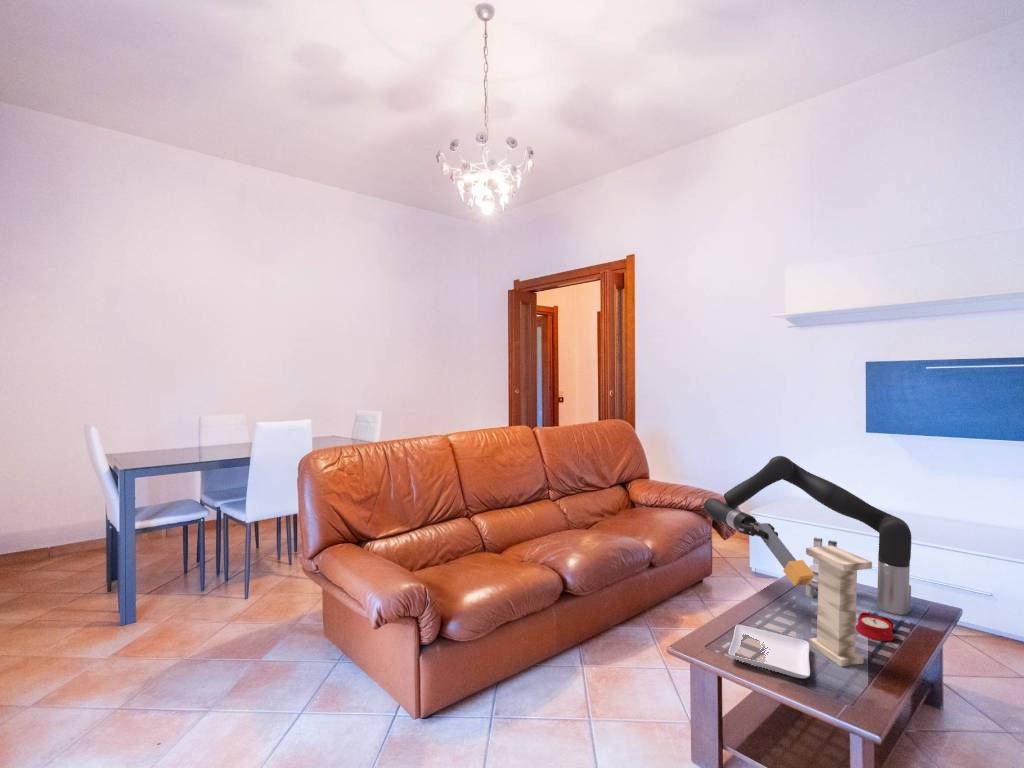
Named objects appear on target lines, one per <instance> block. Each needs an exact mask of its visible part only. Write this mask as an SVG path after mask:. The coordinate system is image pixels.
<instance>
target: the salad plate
mask: <svg viewBox="0 0 1024 768" xmlns="http://www.w3.org/2000/svg"><path fill="white" fill-rule="evenodd" d="M743 634H744V635H745V634H746V635H749V636H750V637H752V638H754V639H757V640H759V641H760V645H761V644H762V643H763V642H764V643H763V644H765V648H767V647H768V648H767V649H765V648H764V649H765V650H766V651H765V650H764V651H765V653H764V654H765V655H766V656H765V655H764V656H765V657H766V658H765V660H766V661H767V662H766V661H765V662H764V663H762V662H759V661H755V660H751V659H747V658H742V657H739V656H735V653H736V652H737V650H738V649H739V647H740V645H741V640H742V639H743V637H742V635H743ZM759 641H758V642H759ZM761 647H763V646H761ZM761 649H762V648H761ZM761 649H760V650H761ZM769 649H770V650H769ZM764 651H762V652H764ZM727 652H728V655H729V656H730V658H732V659H733V658H734V660H735V659H737V660H740V661H744V662H747V663H750V664H753V665H756V666H759V667H762V668H761V669H763V668H765V669H764V670H766V669H768V670H767V671H770V670H772V671H771V672H774V671H775V673H777V672H779V673H778V674H781V673H782V675H785V674H786V676H789V677H792V678H796V679H807V678H810V676H811V667H810V645H809V641H807V640H804V639H800V638H795V637H793V636H788V635H784V634H780V633H776V632H772V631H769V630H763V629H760V628H756V627H752V626H747V625H743V624H736V625H735V627H734V632H733V637H732V639H731V642H730V646H729V649H728V651H727ZM762 652H761V653H762ZM767 652H769V653H767ZM766 653H767V654H768V655H767V654H766ZM762 659H763V658H762ZM737 660H736V661H737ZM740 661H739V662H740ZM759 667H758V668H759Z"/></svg>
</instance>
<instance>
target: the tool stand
mask: <svg viewBox="0 0 1024 768" xmlns="http://www.w3.org/2000/svg"><path fill="white" fill-rule="evenodd" d="M805 555H807V556H809V557H812V559H813V558H815V559H818V560H819V573H818V592H817V621H816V625H817V626H816V627H817V628H816V637H812V638H809V639H808V642H809V647H812V648H813V649H815V650H816V651H817V652H819V653H821V655H823V656H825V657H826V658H828V659H829V660H831V661H832V662H834V663H835V664H837V665H838V666H839V667H848V666H855V665H860V664H864V659H865V658H864V656H863V655H861V654H860V653H859V652H856V631H857V630H856V625H857V593H858V592H857V590H858V589H857V588H858V587H857V586H858V584H857V583H858V571H862V570H870V569H871V570H872V569H873V568H872V567H873V562H872V561H870V560H869V559H866V558H863V557H862V556H858V555H856V554H854V553H851V552H849V551H847V550H844V549H841V548H839V547H838V546H837V547H835V546H828V545H824V546H823V545H822V547H814V546H813V547H812V546H811V547H805Z"/></svg>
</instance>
